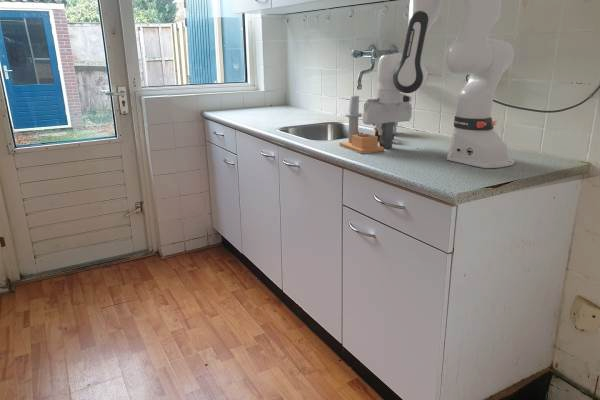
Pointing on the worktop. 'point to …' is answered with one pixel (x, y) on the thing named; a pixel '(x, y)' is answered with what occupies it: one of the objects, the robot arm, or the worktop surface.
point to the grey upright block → (386, 135)
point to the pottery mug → (379, 135)
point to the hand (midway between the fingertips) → (386, 134)
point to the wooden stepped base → (361, 141)
